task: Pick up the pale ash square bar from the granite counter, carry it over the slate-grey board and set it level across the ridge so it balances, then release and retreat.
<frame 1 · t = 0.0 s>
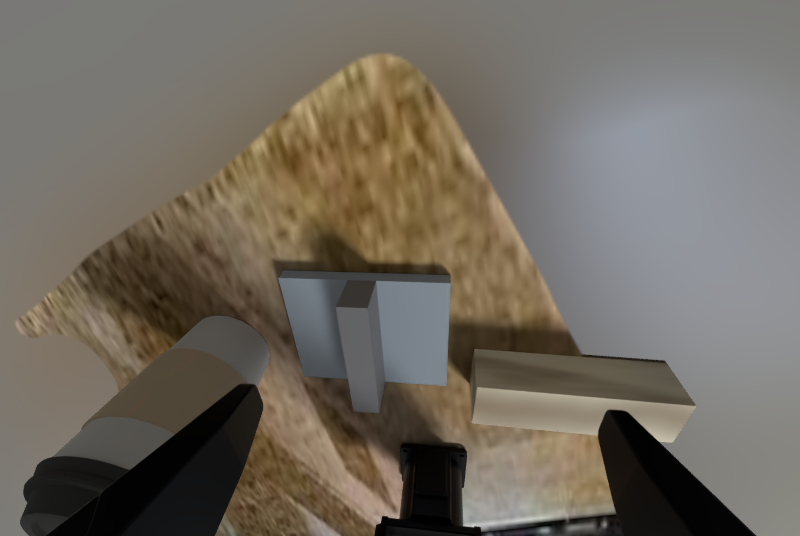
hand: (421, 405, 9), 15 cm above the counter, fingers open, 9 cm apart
coffee cup: (233, 344, 31), on the counter
ridge stand: (370, 326, 28), on the counter
ash bar: (560, 371, 28), on the counter
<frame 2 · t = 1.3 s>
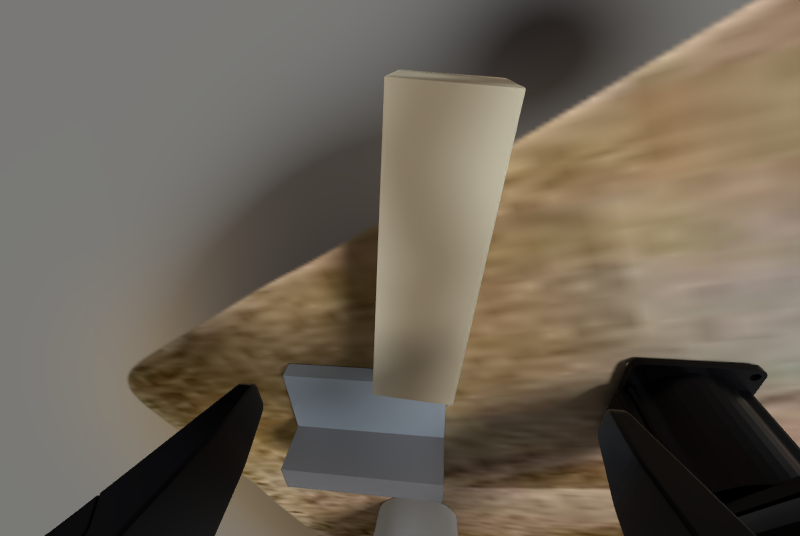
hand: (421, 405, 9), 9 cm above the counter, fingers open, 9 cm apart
coffee cup: (417, 513, 32), on the counter
ridge stand: (373, 427, 25), on the counter
ash bar: (431, 237, 17), on the counter
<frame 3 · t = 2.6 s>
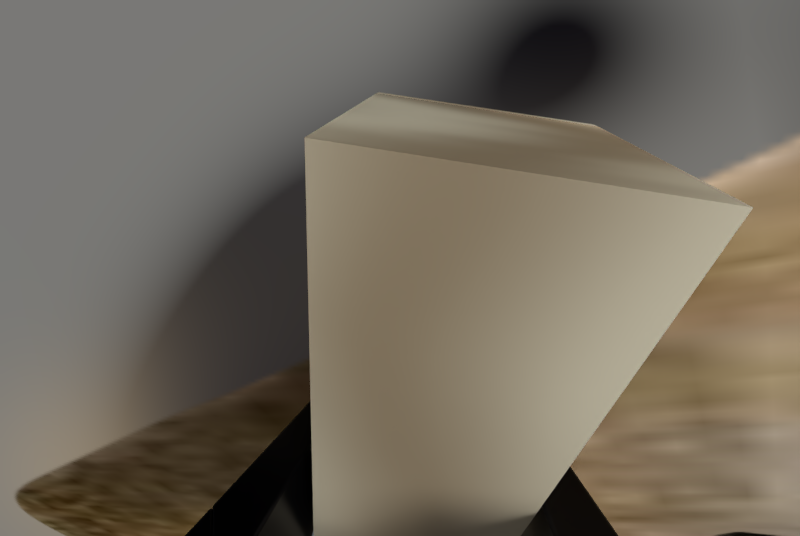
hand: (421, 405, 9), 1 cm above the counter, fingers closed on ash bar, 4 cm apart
ash bar: (424, 367, 10), on the counter, touching gripper
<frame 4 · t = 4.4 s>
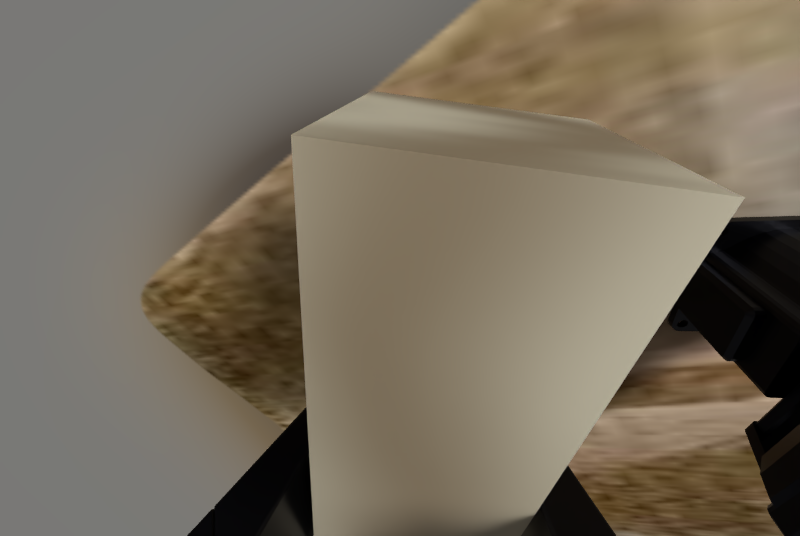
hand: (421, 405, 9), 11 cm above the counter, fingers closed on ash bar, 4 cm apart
ash bar: (424, 367, 10), point 10 cm above the counter, touching gripper
when the fingers open (6 cm above the counter, at t = 6.4 s): ash bar stays where it is, resting on ridge stand.
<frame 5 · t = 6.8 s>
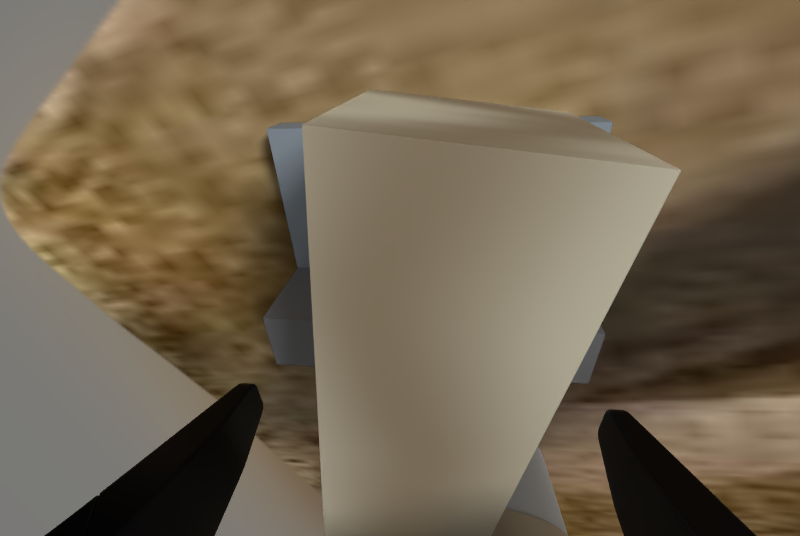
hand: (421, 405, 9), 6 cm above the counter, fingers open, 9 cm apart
coffee cup: (480, 457, 21), on the counter
ridge stand: (430, 279, 14), on the counter
ash bar: (424, 350, 11), point 4 cm above the counter, touching ridge stand
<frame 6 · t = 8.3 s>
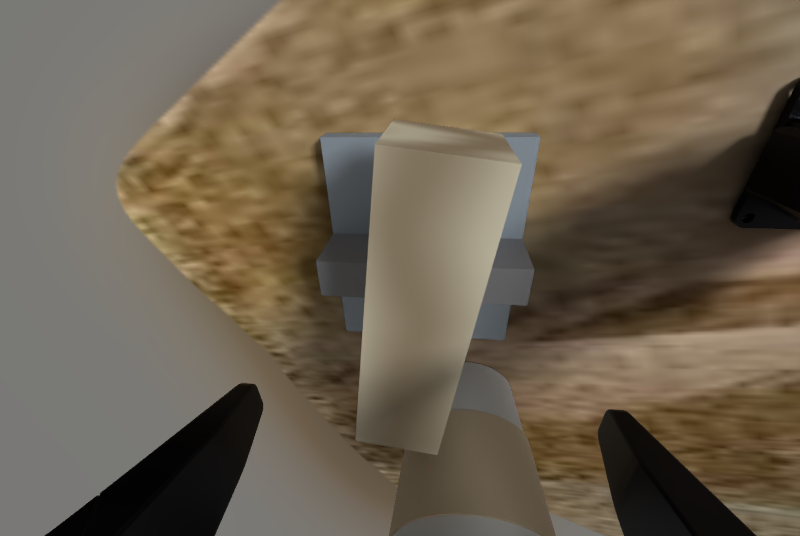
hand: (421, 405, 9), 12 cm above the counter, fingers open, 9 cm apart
coffee cup: (463, 391, 26), on the counter
ridge stand: (425, 244, 20), on the counter
ash bar: (421, 282, 17), point 4 cm above the counter, touching ridge stand
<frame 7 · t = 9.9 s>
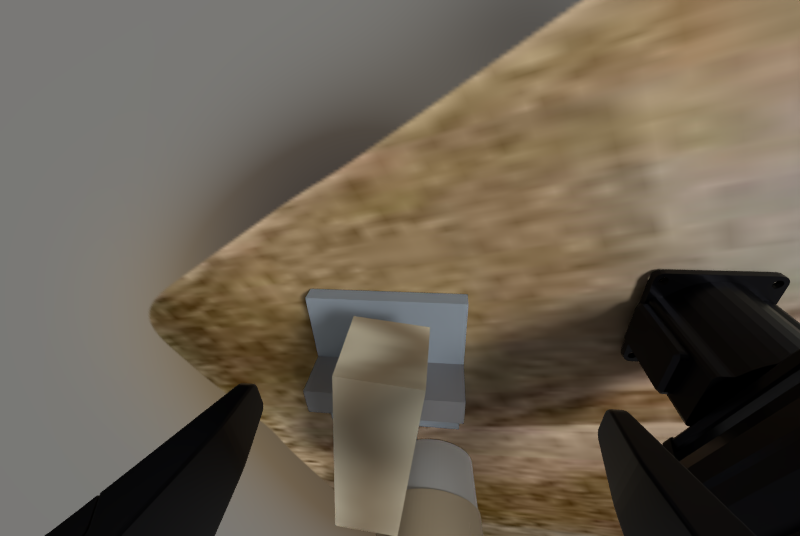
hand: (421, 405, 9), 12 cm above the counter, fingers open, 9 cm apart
coffee cup: (432, 459, 32), on the counter
ridge stand: (391, 359, 25), on the counter
ash bar: (383, 407, 22), point 4 cm above the counter, touching ridge stand
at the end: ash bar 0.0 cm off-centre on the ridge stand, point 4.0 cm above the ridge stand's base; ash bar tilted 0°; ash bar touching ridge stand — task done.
